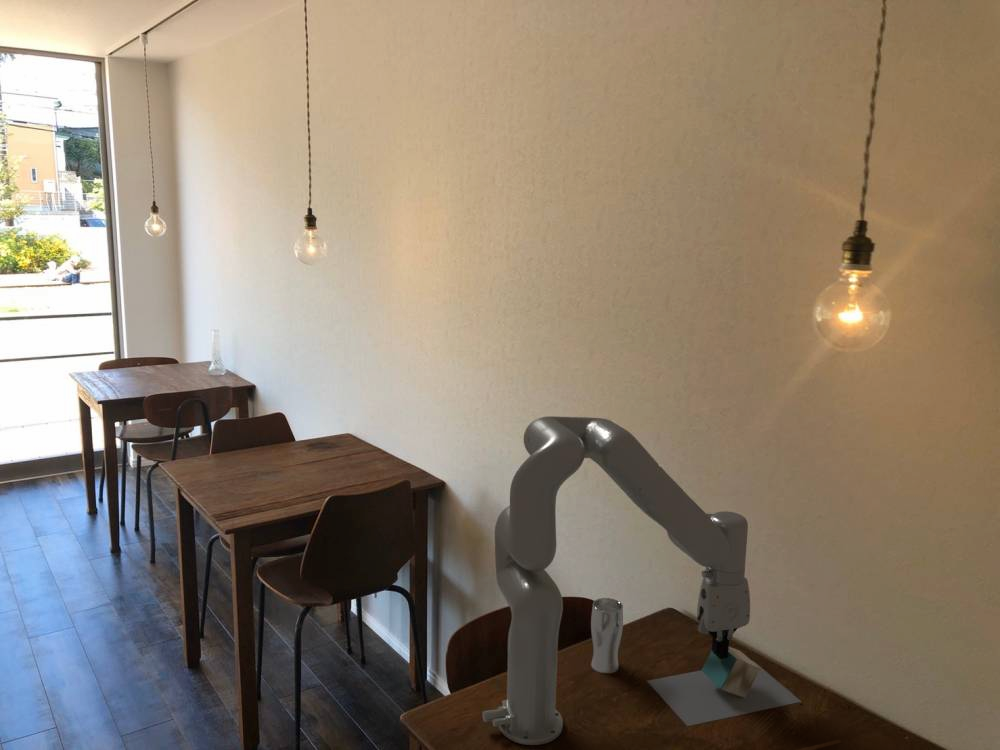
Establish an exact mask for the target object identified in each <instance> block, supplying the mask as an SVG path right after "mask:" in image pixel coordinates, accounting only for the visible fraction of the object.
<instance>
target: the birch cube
mask: <svg viewBox="0 0 1000 750" xmlns="http://www.w3.org/2000/svg"><path fill="white" fill-rule="evenodd" d="M753 661H754V660H751V658H750V657H748V656H747V655H745V654H744V653H743V652H742V651H741V650H739V649H736V648H734V647H731V646H729V650H728V657H727V658H723V659H719V658H718V657H717V656H716V655H715V654H714V653H713V652H712V650H710V653H709V655H708V656H707V659H706V661H705V662H704V664H703V666H702V668H701V670H700V671H702V672H703V673H704V674H705V675H706V676H707V677H708V678H709V679H710V680H712V681H713V682H714V683H715V684H716V685H717V686H718V687H719V688H720V689H722V690H724V691H727V692H730V693H733V694H735V695H738V696H741V697H743V698H745V697H746V695H747V693H748V691H749V689H750V687H751V685H752V684H753V682H754V680H755V678H756V676H757V674H758V672H759V670H760V667H761V666H760V667H758V666H757V665H756V664H757V663H756V662H755V661H754V662H755V663H756V664H755V663H754V662H753Z"/></svg>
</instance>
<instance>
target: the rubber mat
mask: <svg viewBox="0 0 1000 750" xmlns="http://www.w3.org/2000/svg"><path fill="white" fill-rule="evenodd" d="M752 661H753V662H754V663H755V664H756V665H757V666H758V667H760V670H759V672H758V674H757V676H756V678H755V680H754V682H753V684H752V685H751V687H750V689H749V691H748V693H747V695H746V697H745V698H743V697H741V696H738V695H735V694H733V693H730V692H727V691H724V690H722V689H720V688H719V687H718V686H717V685H716V684H715V683H714V682H713V681H712V680H710V679H709V678H708V677H707V676H706V675H705V674H704V673H703V672H702V671H701V670H697V671H691V672H685V673H680V674H676V675H675V674H674V675H670V676H664V677H661V678H654V679H649V680H646V682H647V683H648V684H649V686H651V687H652V688H653V690H654V691H655V692H656V693H657V694H658V695H659V697H661V698H662V699H663V701H664V702H665V703H666V704H667V705H668V706H669V707H670V709H671V710H672V711H673V712H674V713H675V714H676V715H677V716H678V717H679V719H680V720H681V721H682V722H683V723H684V724H685V725H686V726H687V727H690V726H695V725H699V724H705V723H709V722H710V723H711V722H715V721H719V720H723V719H728V718H732V717H737V716H742V715H746V714H747V715H748V714H751V713H756V712H760V711H765V710H769V709H774V708H779V707H783V706H789V705H792V704H798V705H801V704H802V701H801V699H799V698H798V697H797V696H796V695H794V694H793V693H792V692H791V691H790V690H789V689H788V688H786V687H785V686H784V685H783V684H781V683H780V682H779V681H778V680H776V678H774V677H773V676H771V674H769V673H768V672H767V671H766V670H765V669H763V667H761V666H760V665H759V664H758V663H757V662H755V660H752Z"/></svg>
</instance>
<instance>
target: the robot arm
mask: <svg viewBox="0 0 1000 750" xmlns="http://www.w3.org/2000/svg"><path fill="white" fill-rule="evenodd" d="M523 443H524V444H523V445H524V447H525V450H526V451H527V453H528V454H529V455H530V456H529V457H527V458H526V459H525V461H524V462H523V463H522V464H521V465H520V466H519V468H518V470H517V471H516V472H515V473H514V476H513V477H512V480H511V483H510V489H509V505H507V506H506V507H505V508H504V509H503V510H502V511H501V512H500V514H499V515H498V518H497V520H496V522H495V527H494V554H495V555H494V557H495V558H494V559H495V576H496V583H497V585H498V588H499V591H500V592H501V594H502V596H503V597H504V599H505V601H506V603H507V604H508V607H509V609H510V612H511V622H510V626H509V629H508V636H507V673H506V674H507V677H506V679H507V680H506V685H507V686H506V699H503V700H501V706H498V707H497V708H496V709H490V710H489V709H488V710H484V711H482V713H481V714H482V715H481V716H482V720H483V722H484V723H487V722H492V725H493V728H498V729H499V730H500V732H501V733H502V735H503V736H504V737H506V738H507V739H509V740H510V741H512V742H514V743H516V744H517V743H518V744H520V745H524V746H525V745H526V746H540V745H544V744H545V745H546V744H548V743H550V742H552V741H554V740H556V739H557V738H558V737H559V736H560V735H561V733H562V731H563V727H564V719H563V717H562V715H561V713H560V712H559V711H558V710H557V709H556V705H557V704H556V703H557V676H558V675H557V674H558V647H559V643H558V642H559V634H560V633H559V632H560V625H561V620H562V615H563V611H564V602H563V596H562V593H561V591H560V588H559V587H558V585H557V583H556V582H555V581H554V579H553V578H552V576H550V574H549V573H548V572H547V571H546V570H545V569H547V568H548V567H549V566H550V565H551V564H552V562H553V560H554V558H555V556H556V554H557V553H556V552H557V525H556V521H557V520H556V518H557V517H556V507H557V505H556V504H557V495H558V491H559V490H560V488H561V487H562V485H563V484H564V483H565V482H566V480H567V479H569V478H570V477H571V476H572V475H574V474H575V473H576V472H577V471H578V470H579V469H580V467H581V466H582V465H583V462H584V460H585V459H589V460H591V461H593V462H594V463H596V464H597V466H599V467H600V468H601V469H602V471H604V472H605V473H606V474H607V475H608V477H609V478H610V479H611V480H612V481H613V482H614V483H615V484H616V485H617V486H618V487H619V488H620V490H622V492H623V493H624V494H625V495H626V496H627V497H628V498H629V499H630V500H631V501H632V503H633V504H634V505H636V507H637V508H639V510H641V512H643V513H644V514H645V515H647V516H648V517H649V518H650V519H652V520H653V521H655V522H656V524H658V525H659V526H661V527H662V528H663V529H665V531H666V532H667V536H668V539H669V540H670V541H671V543H672V544H673V545H674V546H676V547H677V548H678V549H679V550H680V551H681V552H683V553H685V555H687V556H688V557H689V558H690V559H692V560H693V561H694V562H695V563H697V564H698V565H699V566H702V567H705V569H704V570H701V576H702V582H701V585H700V589H699V594H698V601H697V610H696V611H697V612H696V618H697V619H696V620H697V622H698V626H697V631H698V632H699V633H701V635H710V636H711V637H712V639H711V640H712V642H711V651H712V652H713V653H714V654H715V655H716V656H717V657H718V658H719V659H723V658H727V657H728V650H729V647H730V640H732V639H733V636H734V633H735V632H736V631H737V630H738V629H740V628H742V627H746V626H747V625H748V624H749V623H750V619H751V595H750V587H749V581H748V578H746V577H745V576H746V575H745V573H746V560H747V546H748V545H747V544H748V543H747V542H748V532H749V531H748V530H749V523H748V520H747V518H746V517H745V516H743V515H742V514H740V513H738V512H734V511H728V510H727V511H726V510H724V511H723V510H722V511H717V512H714V513H706V512H705V511H704V510H703V509H702V508H701V507H700V506H699V505H698V504H697V503H696V502H695V501H694V499H692V498H691V497H690V496H689V495H688V494H687V493H686V491H684V489H683V488H682V487H681V486H680V485H679V484H678V483H677V482H676V481H675V480H674V479H673V478H672V477H671V476H670V475H669V474H668V473H667V472H666V470H664V468H663V467H662V466H661V465H660V464H659V463H658V462H657V461H656V460H655V458H654V457H653V456H652V455H651V453H649V452H648V450H647V449H646V448H645V447H644V446H643V445H642V444H641V443H640V441H639V440H638V439H637V438H636V437H635V436H634V434H632V433H631V432H629V430H627V429H625V428H623V427H622V426H620V425H619V424H617V423H615V422H613V421H612V420H610V419H608V418H607V419H606V418H602V417H587V416H585V417H584V416H583V417H582V416H581V417H580V416H543V417H539V418H536V419H535V420H532V421H531V422H530V423H529V424H528V425H527V427H526V428H525V431H524V433H523Z"/></svg>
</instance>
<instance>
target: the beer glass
mask: <svg viewBox="0 0 1000 750" xmlns="http://www.w3.org/2000/svg"><path fill="white" fill-rule="evenodd" d="M623 605H624V604H623V603H622V602H621V601H619V600H617V599H614V598H611V597H602V598H601V597H600V598H598V599H595V600H594V601H593V602H592V607H591V608H592V609H591V618H590V630H591V639H592V647H593V648H592V649H593V655H592V660H591V664H590V665H591V667H592V669H593V670H594V671H596V672H598V673H601V674H612V673H613V674H614V673H616V672H617V671H618V670H619V667H620V665H619V658H618V654H619V649H620V648H619V647H620V644H621V639H622V635H623V628H624V606H623Z"/></svg>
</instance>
